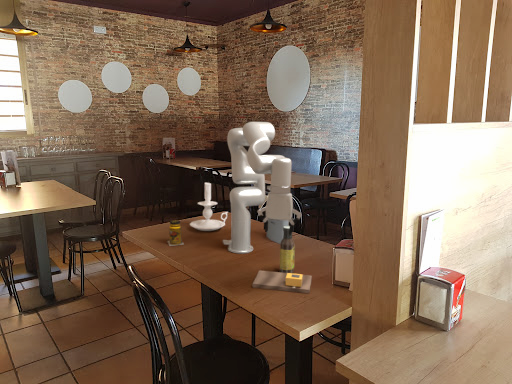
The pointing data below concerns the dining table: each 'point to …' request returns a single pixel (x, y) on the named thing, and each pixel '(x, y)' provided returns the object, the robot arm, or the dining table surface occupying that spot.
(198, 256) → the dining table surface
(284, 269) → the sauce bottle
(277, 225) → the flask
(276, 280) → the plank
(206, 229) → the candlestick
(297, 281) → the block
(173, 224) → the condiment
